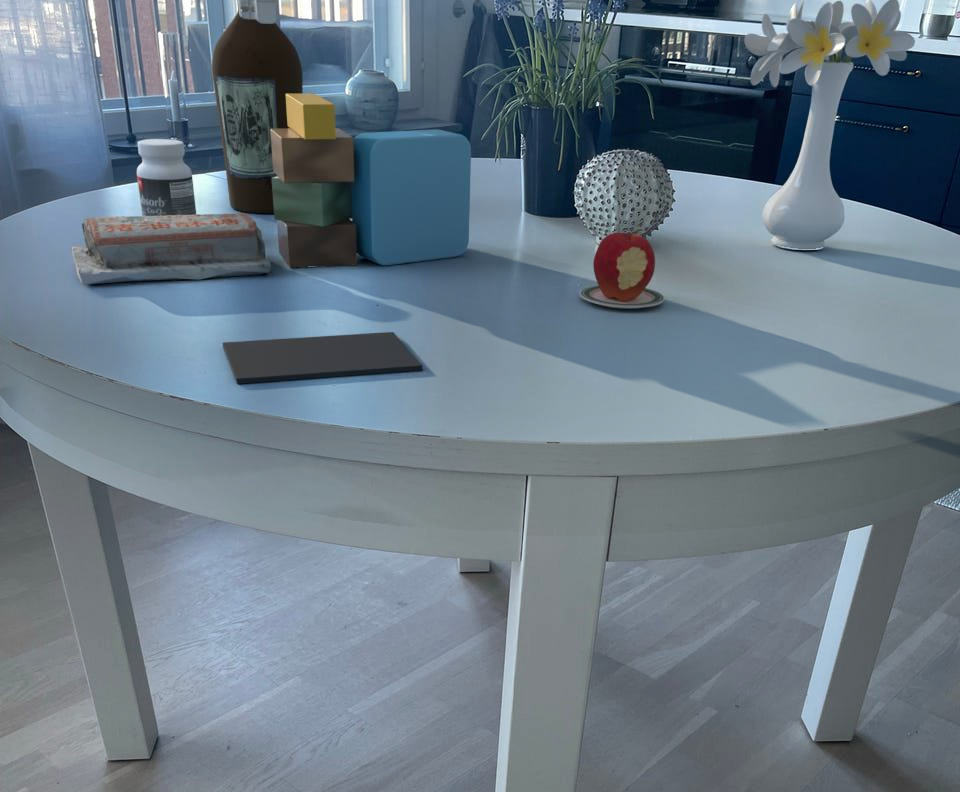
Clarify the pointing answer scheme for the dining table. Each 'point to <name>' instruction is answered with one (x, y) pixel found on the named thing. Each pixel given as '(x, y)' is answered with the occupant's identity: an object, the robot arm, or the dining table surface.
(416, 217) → the data package
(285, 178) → the tower
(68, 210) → the dining table surface
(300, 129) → the bar
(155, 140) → the pill bottle
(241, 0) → the robot arm
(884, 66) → the flower vase
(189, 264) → the packaged product
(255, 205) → the olive oil
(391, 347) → the mat
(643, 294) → the apple
